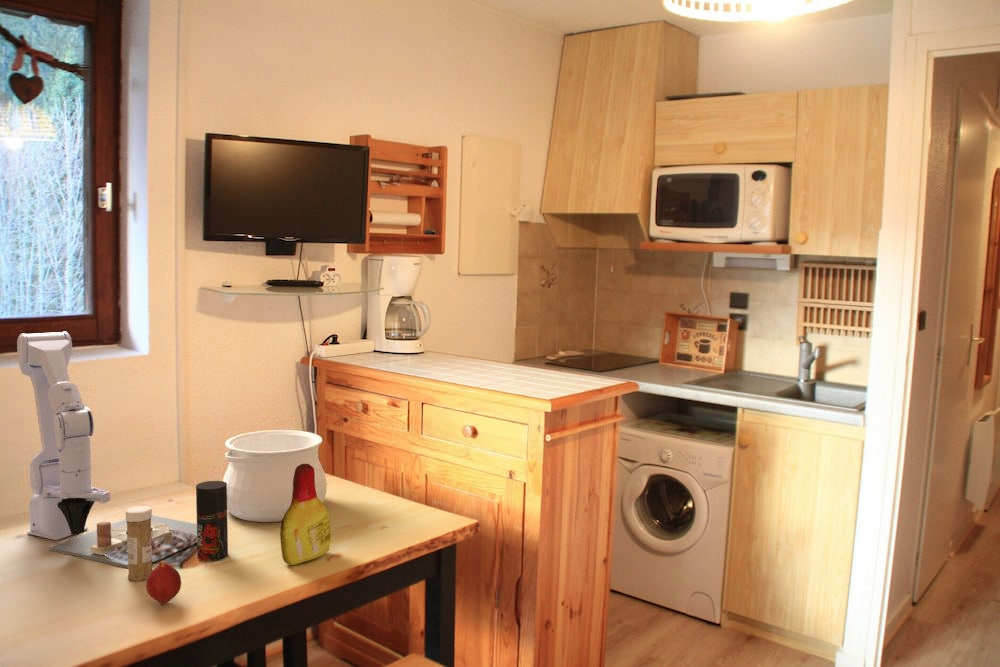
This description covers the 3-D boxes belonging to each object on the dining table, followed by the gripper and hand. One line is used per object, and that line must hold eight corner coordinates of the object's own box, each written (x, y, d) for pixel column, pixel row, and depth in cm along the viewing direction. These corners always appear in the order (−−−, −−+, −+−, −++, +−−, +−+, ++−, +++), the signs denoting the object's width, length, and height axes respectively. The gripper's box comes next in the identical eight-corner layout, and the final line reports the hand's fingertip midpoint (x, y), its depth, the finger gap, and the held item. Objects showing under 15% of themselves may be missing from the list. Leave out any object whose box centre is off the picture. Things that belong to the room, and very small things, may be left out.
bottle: (291, 572, 164) (290, 472, 162) (270, 564, 168) (269, 466, 166) (337, 554, 173) (337, 460, 171) (317, 547, 177) (316, 455, 175)
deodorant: (234, 553, 173) (233, 482, 171) (215, 563, 167) (214, 490, 166) (210, 549, 175) (208, 479, 173) (191, 559, 169) (189, 487, 168)
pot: (283, 487, 219) (283, 424, 217) (349, 506, 205) (349, 438, 203) (198, 511, 198) (196, 442, 197) (264, 534, 184) (264, 460, 182)
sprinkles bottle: (155, 578, 160) (153, 510, 158) (129, 583, 157) (127, 513, 156) (150, 570, 164) (148, 503, 162) (125, 574, 161) (123, 507, 159)
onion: (152, 597, 152) (151, 554, 151) (185, 596, 152) (184, 554, 151) (141, 611, 146) (140, 567, 145) (176, 610, 146) (175, 566, 145)
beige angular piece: (140, 524, 186) (139, 499, 186) (180, 532, 182) (179, 507, 181) (75, 548, 171) (74, 522, 170) (117, 558, 167) (116, 531, 166)
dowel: (161, 546, 174) (160, 533, 174) (167, 543, 176) (167, 530, 176) (167, 547, 174) (167, 534, 173) (174, 544, 175) (173, 531, 175)
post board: (50, 549, 173) (49, 525, 172) (141, 515, 195) (141, 494, 194) (137, 570, 163) (136, 544, 163) (222, 531, 185) (222, 509, 185)
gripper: (29, 470, 168) (32, 536, 169) (92, 477, 165) (94, 543, 166) (56, 462, 175) (58, 524, 176) (116, 467, 171) (118, 531, 173)
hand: (77, 533), depth 172 cm, fingers closed
